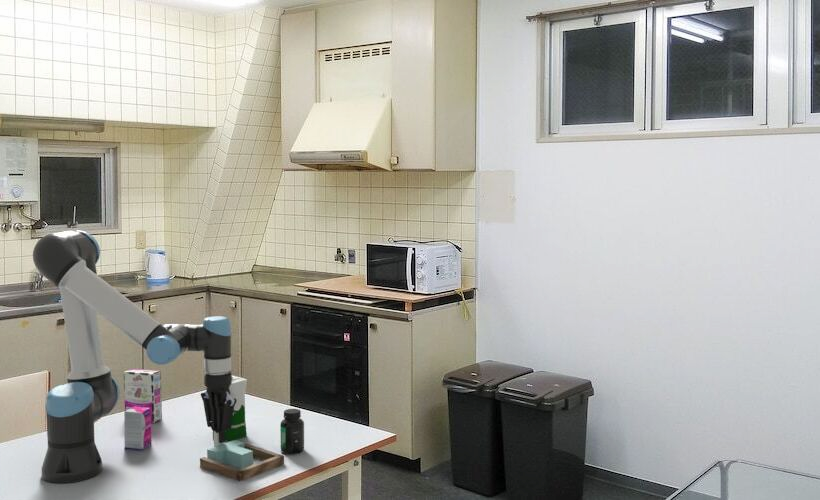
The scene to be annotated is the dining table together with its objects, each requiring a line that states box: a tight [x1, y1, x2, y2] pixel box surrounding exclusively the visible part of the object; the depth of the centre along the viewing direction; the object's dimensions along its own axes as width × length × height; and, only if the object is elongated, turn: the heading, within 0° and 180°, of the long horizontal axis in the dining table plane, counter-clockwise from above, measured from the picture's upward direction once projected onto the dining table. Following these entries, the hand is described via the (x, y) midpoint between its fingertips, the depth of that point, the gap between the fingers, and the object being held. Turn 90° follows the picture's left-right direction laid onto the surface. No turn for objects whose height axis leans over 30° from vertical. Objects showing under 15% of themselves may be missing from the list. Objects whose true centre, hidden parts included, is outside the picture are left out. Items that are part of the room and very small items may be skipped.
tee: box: [206, 439, 254, 469], centre depth 225 cm, size 10×11×4 cm
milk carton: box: [225, 370, 248, 442], centre depth 246 cm, size 9×9×20 cm
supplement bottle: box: [279, 408, 305, 456], centre depth 235 cm, size 7×7×12 cm
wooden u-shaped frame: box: [199, 442, 285, 482], centre depth 223 cm, size 16×16×2 cm
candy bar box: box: [123, 368, 163, 424], centre depth 262 cm, size 11×5×16 cm, turn 73°
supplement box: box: [123, 406, 152, 451], centre depth 237 cm, size 6×6×12 cm
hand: (219, 452), depth 229 cm, fingers closed
